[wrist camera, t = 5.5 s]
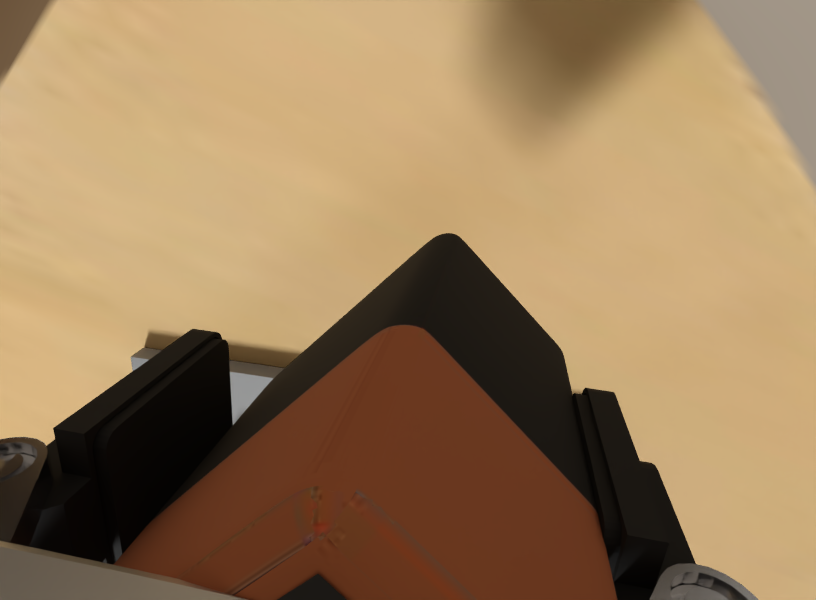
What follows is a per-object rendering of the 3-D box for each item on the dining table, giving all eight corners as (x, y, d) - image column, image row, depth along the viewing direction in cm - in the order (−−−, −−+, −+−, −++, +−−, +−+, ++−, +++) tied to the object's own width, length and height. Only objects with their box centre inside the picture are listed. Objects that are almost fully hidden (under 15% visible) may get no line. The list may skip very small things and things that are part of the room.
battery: (267, 381, 14) (-157, 868, 5) (450, 218, 12) (258, 597, 3) (376, 487, 15) (167, 1090, 6) (571, 353, 13) (741, 1027, 3)
